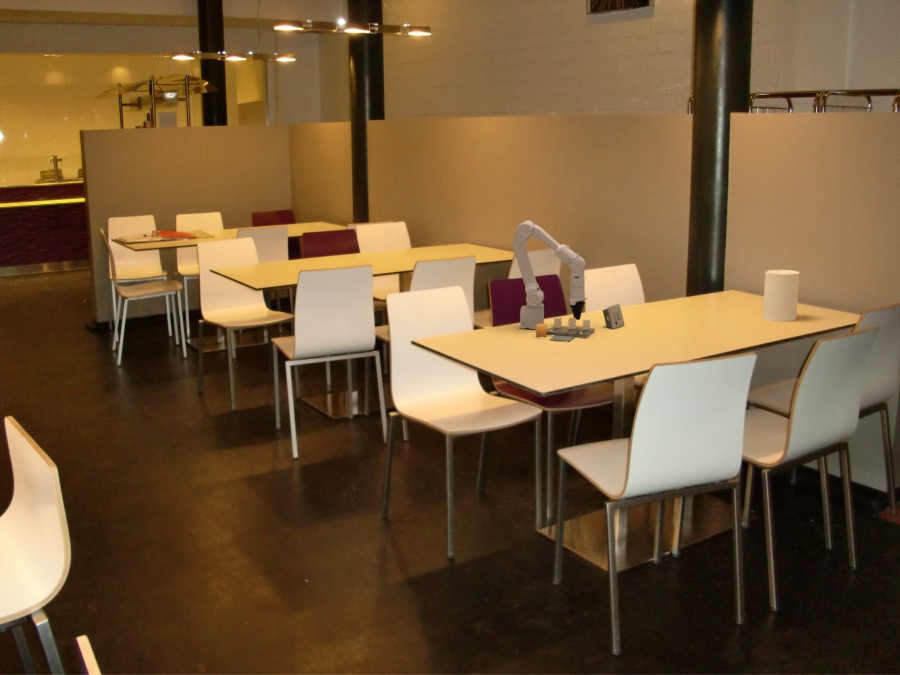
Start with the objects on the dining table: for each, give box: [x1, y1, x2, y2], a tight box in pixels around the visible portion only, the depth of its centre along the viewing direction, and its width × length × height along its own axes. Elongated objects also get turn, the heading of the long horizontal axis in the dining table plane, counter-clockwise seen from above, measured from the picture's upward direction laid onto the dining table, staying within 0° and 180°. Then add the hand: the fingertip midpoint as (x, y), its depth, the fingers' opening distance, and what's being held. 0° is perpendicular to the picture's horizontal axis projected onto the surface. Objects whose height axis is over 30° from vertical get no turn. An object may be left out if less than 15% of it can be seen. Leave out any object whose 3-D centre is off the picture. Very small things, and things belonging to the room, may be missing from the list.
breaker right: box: [582, 318, 591, 330], centre depth 366 cm, size 2×2×4 cm
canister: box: [762, 269, 800, 323], centre depth 388 cm, size 14×14×20 cm
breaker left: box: [553, 316, 563, 328], centre depth 371 cm, size 2×2×4 cm
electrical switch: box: [602, 303, 625, 330], centre depth 378 cm, size 9×5×9 cm, turn 141°
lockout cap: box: [535, 323, 548, 338], centre depth 362 cm, size 4×4×5 cm
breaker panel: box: [547, 325, 596, 339], centre depth 366 cm, size 17×12×2 cm
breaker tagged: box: [567, 316, 577, 329], centre depth 369 cm, size 2×2×4 cm
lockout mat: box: [548, 335, 576, 343], centre depth 357 cm, size 8×8×1 cm
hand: (577, 319), depth 375 cm, fingers closed
